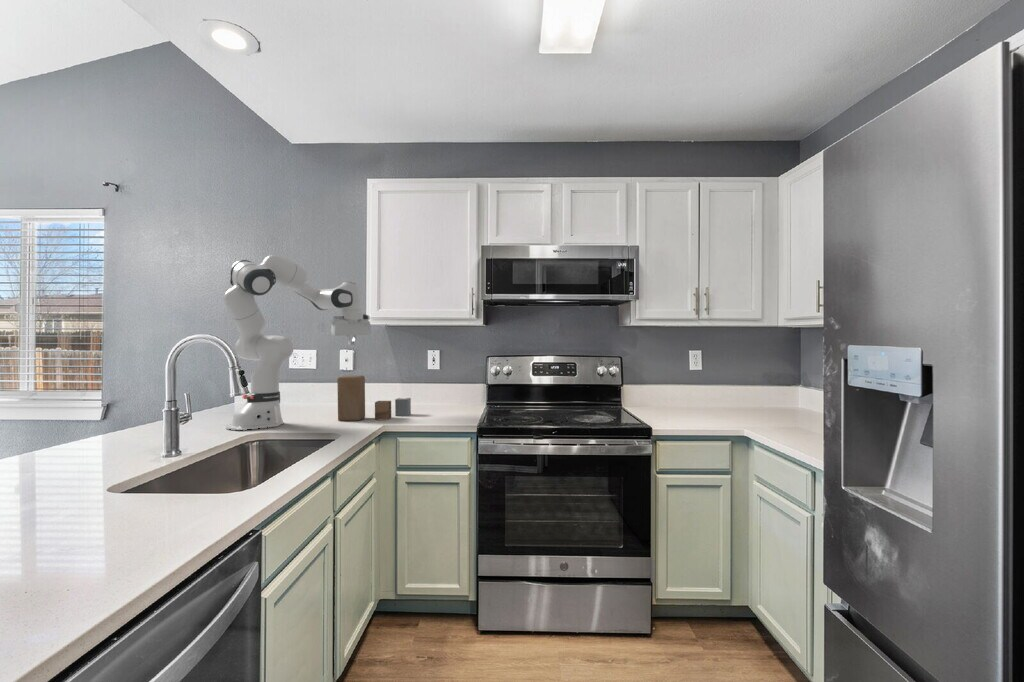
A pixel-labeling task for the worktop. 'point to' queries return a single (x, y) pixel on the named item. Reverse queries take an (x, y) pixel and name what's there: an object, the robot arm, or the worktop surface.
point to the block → (351, 397)
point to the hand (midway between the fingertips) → (351, 344)
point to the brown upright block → (383, 410)
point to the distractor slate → (402, 406)
